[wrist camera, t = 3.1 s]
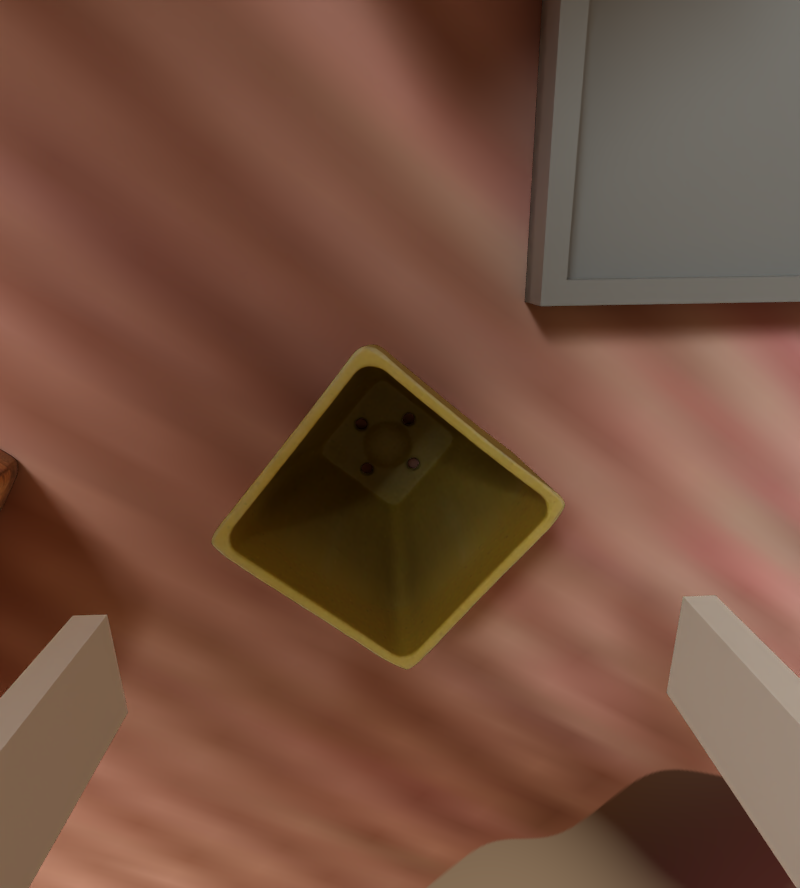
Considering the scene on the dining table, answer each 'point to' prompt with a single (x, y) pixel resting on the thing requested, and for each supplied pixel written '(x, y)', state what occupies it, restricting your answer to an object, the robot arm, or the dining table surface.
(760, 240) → the plant tray
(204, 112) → the dining table surface
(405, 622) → the flower pot
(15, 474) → the wooden box
